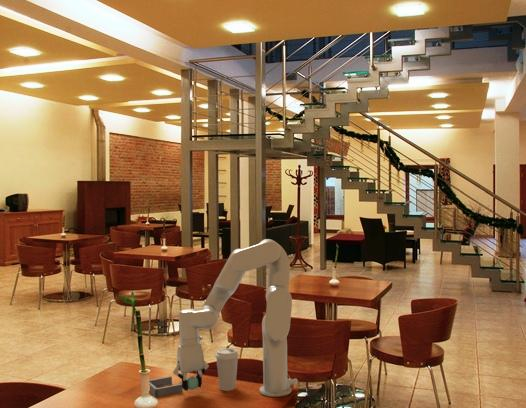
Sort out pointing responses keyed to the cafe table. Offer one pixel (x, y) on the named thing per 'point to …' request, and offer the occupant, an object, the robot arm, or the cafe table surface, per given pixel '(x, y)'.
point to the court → (164, 390)
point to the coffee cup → (227, 368)
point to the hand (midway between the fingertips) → (192, 387)
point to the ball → (192, 382)
